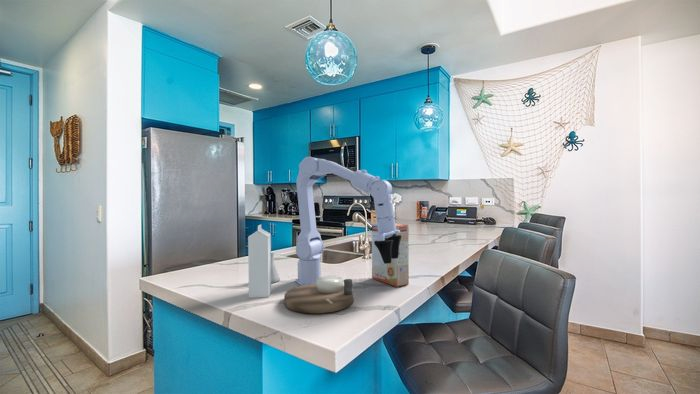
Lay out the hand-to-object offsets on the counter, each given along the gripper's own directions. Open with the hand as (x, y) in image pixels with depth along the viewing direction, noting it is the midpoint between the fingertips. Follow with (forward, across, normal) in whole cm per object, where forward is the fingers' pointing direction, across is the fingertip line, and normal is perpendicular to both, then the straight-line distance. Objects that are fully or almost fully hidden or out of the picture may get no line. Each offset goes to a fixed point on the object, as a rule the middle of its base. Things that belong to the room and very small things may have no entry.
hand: (391, 260), depth 100 cm
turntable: (+8, -15, +19) cm, 25 cm away
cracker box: (+10, +13, +6) cm, 17 cm away
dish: (+6, -10, +17) cm, 21 cm away
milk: (+5, -17, +39) cm, 43 cm away
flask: (+4, -3, +46) cm, 46 cm away
